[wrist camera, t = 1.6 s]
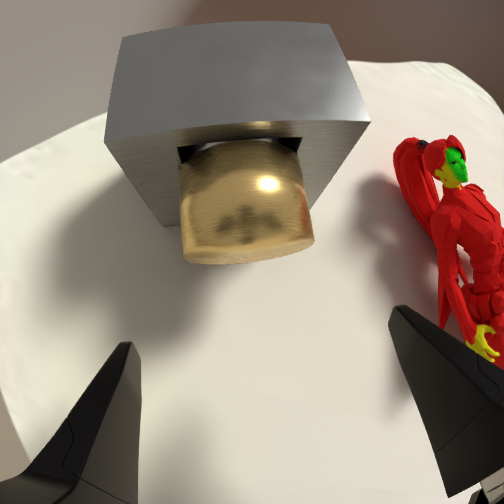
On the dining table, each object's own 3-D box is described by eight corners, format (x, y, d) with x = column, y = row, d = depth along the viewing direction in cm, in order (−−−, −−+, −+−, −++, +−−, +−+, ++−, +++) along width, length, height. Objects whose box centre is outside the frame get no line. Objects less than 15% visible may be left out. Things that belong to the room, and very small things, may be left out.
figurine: (506, 463, 15) (397, 136, 15) (454, 435, 24) (337, 179, 23) (563, 376, 17) (481, 94, 17) (513, 365, 26) (423, 131, 25)
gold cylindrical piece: (299, 256, 17) (331, 226, 12) (192, 268, 17) (171, 243, 11) (278, 134, 19) (294, 71, 13) (184, 143, 19) (169, 80, 13)
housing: (308, 211, 23) (371, 121, 12) (163, 226, 22) (103, 142, 11) (292, 134, 25) (329, 24, 13) (161, 146, 24) (122, 37, 12)
